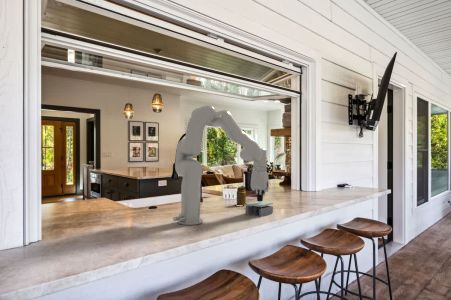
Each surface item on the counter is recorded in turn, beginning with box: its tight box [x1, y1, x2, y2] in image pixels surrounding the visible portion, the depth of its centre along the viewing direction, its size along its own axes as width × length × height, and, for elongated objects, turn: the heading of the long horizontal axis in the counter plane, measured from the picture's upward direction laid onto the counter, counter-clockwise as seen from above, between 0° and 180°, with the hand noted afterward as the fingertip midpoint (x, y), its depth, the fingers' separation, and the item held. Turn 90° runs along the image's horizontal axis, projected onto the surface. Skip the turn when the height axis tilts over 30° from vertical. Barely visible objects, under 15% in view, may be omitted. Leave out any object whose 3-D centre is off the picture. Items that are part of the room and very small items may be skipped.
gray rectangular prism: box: [251, 206, 267, 216], centre depth 170 cm, size 8×3×5 cm, turn 123°
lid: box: [245, 200, 274, 207], centre depth 170 cm, size 12×11×1 cm
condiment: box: [236, 186, 247, 205], centre depth 196 cm, size 7×8×12 cm
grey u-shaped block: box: [245, 205, 274, 218], centre depth 170 cm, size 12×11×5 cm
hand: (259, 201), depth 170 cm, fingers closed
